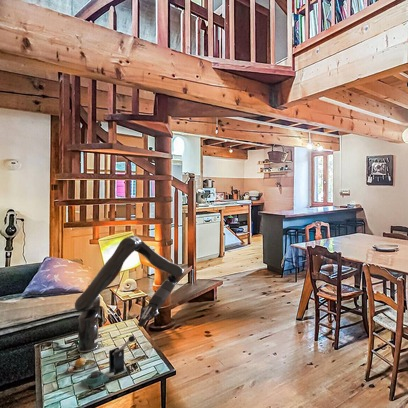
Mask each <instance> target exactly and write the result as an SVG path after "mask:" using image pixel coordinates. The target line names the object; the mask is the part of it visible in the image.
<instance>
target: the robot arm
mask: <svg viewBox="0 0 408 408" xmlns="http://www.w3.org/2000/svg"><path fill="white" fill-rule="evenodd" d="M134 252H136V253H139V254H140V255H141V256H143V257H144V258H145V259H146V260H147V261H148V262H149V263H150V265H151V266H153V267H154V268H156V269H157V270H159V271H161V272H163V273H167V274H168V276H167V277H166V279H165V280H164V281H163V282H162V283H161V285H160V286H159V288H157V289H156V291H155V292H154V294H153V295H152V296H151V297H150V299H149V301H148V304H147V305H146V306H145V307H141V308H140V312H139V313H140V314H139V318H140V320H139V321H138V323H137V326H138V327H140V328H143V326H145V324H146V322H148V321H152V320H153V319H154V318H156V317H157V316H159V315H160V312H159V310H160V308H162V307H163V305H164V304H165V302H166V301H167V300H168V298H169V297H170V295H171V293H172V292H173V290H174V289H175V287H176V285H177V284H178V283H179V281H180V280H181V279H182V278H183V276H184V274H185V270H184V268H182V267H181V266H180V265H179V264H176V263H174V262H172V261H170V260H168V259H167V258H165V257H164V256H163V255H161V254H159V253H158V252H156V251H155V250H154V249H152V248H151V247H150V246H149V245H148V244H147V243H145V241H143V239H141V237H139V236H137V235H129V236H127V237H125V238H123V239H122V240H121V241H120V242H119V243H118V245H117V247H116V249H115V250H114V252H113V254H112V255H111V256H110V257H109V258H108V259H107V261H105V263H104V265H102V267H101V268H100V269H99V271H98V272H97V274H96V275H95V276H94V278H93V279H92V280H91V282H90V283H89V285H88V286H87V288H86V289H85V290H84V291H83V292H82V293H81V294H80V295H79V296H78V298H76V300H75V302H74V309H75V310H76V311H77V312H80V314H79V316H78V318H77V328H78V329H77V331H78V333H77V339H74V341H73V342H72V343H71V344H70V346H67V347H63V346H60V343H59V342H57V341H45V342H41V343H39V344H37V345H36V346H35V347H36V348H38V347H40V346H42V345H46V344H54V345H56V349H60V350H67V349H71V348H72V347H73V346H77V351H78V353H88V352H92V351H94V350H96V349H98V348H99V341H100V337H99V315H100V312H101V298H100V296H99V295H100V294H101V293H102V292H103V291H104V290H105V289H106V288H108V287H109V286H110V285H111V284H112V283H113V282H114V281H115V280H116V279H117V277H118V275H119V274H120V273H121V271H122V269H123V266H124V263H125V261H126V260H127V259H128V258H129V256H131V254H133V253H134Z"/></svg>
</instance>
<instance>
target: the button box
mask: <svg viewBox="0 0 408 408" xmlns="http://www.w3.org/2000/svg"><path fill="white" fill-rule="evenodd" d="M108 381H110V378H109V377H108V376H105V375H104V372H102V371H100V376H99V377H97V378H91V374H89V375H88V376H87V377H85V378H83V379H82V380H80V383H81V384H83V385H85V386H89V387H90V388H93V389H94V388H97V387H99V386H100V385H102V384H104V383H106V382H108Z"/></svg>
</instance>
